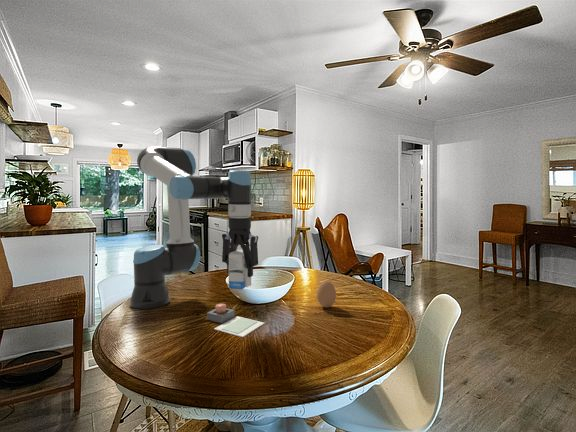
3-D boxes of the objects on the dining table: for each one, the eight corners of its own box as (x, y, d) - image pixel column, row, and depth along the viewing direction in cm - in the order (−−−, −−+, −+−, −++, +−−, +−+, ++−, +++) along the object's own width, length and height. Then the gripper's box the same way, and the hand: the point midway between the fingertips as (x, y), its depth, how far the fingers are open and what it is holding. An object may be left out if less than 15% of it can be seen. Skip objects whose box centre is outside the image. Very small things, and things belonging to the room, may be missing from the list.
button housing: (207, 319, 119) (207, 312, 119) (220, 313, 125) (219, 306, 125) (222, 323, 116) (222, 316, 116) (234, 316, 122) (234, 310, 122)
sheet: (214, 329, 111) (214, 327, 111) (237, 317, 122) (237, 315, 122) (242, 337, 105) (242, 335, 105) (264, 323, 116) (264, 322, 116)
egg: (322, 311, 128) (322, 284, 127) (313, 305, 135) (314, 279, 134) (339, 309, 130) (339, 282, 130) (330, 303, 137) (330, 277, 137)
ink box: (242, 290, 108) (242, 254, 107) (228, 288, 109) (228, 253, 108) (250, 282, 116) (250, 249, 115) (237, 281, 117) (237, 249, 116)
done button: (213, 312, 120) (213, 306, 119) (220, 309, 123) (220, 302, 123) (221, 314, 118) (221, 307, 118) (228, 311, 121) (228, 304, 121)
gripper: (210, 216, 112) (211, 283, 114) (256, 219, 103) (256, 291, 104) (224, 215, 118) (225, 278, 120) (269, 217, 109) (269, 285, 111)
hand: (239, 284), depth 112 cm, fingers closed on ink box, 6 cm apart
